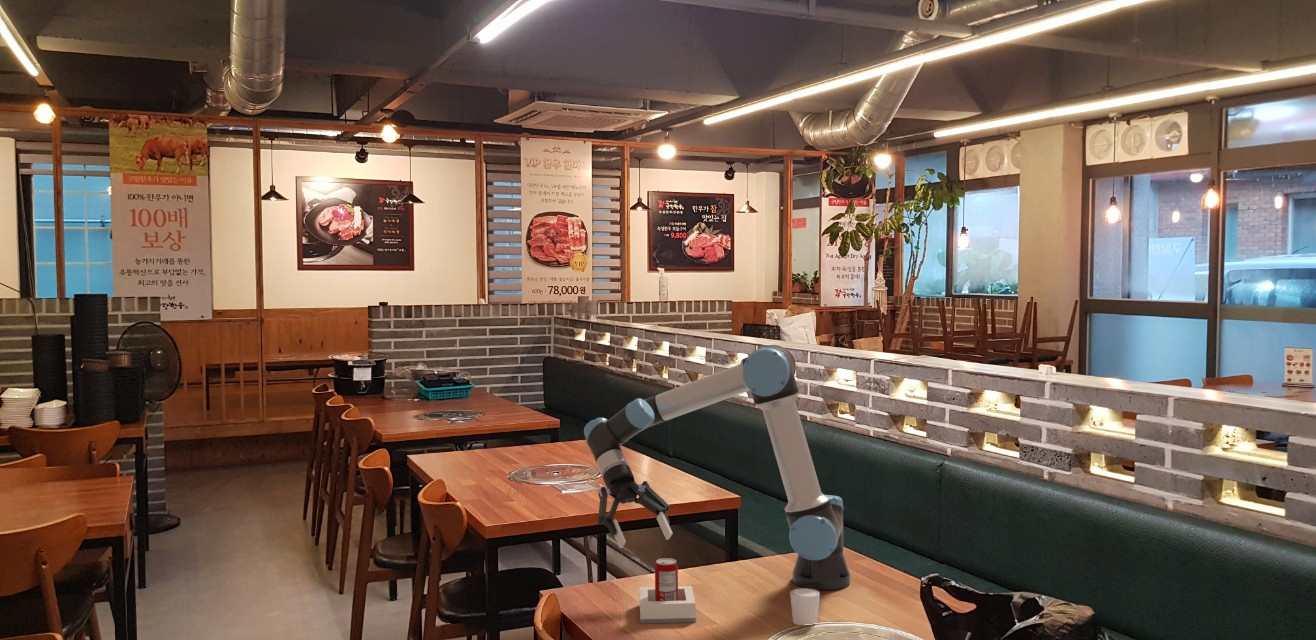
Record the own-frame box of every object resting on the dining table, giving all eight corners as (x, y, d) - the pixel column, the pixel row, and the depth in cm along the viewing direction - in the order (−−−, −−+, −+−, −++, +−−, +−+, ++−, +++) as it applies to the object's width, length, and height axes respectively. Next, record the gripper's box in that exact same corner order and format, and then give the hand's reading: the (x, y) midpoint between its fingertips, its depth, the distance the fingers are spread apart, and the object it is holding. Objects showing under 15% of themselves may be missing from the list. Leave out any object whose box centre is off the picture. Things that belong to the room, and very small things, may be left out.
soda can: (667, 603, 234) (666, 555, 234) (683, 609, 230) (682, 559, 230) (650, 609, 231) (650, 559, 230) (666, 614, 227) (665, 564, 226)
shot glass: (819, 627, 220) (819, 597, 219) (789, 626, 221) (789, 595, 221) (820, 617, 226) (820, 588, 226) (791, 616, 228) (791, 586, 228)
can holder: (691, 604, 237) (691, 586, 237) (695, 622, 224) (695, 603, 224) (639, 605, 237) (639, 587, 237) (640, 623, 224) (640, 604, 224)
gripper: (651, 474, 258) (682, 541, 246) (568, 485, 245) (597, 557, 233) (661, 457, 254) (694, 525, 241) (577, 468, 240) (607, 540, 228)
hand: (646, 540), depth 237 cm, fingers open, 13 cm apart
